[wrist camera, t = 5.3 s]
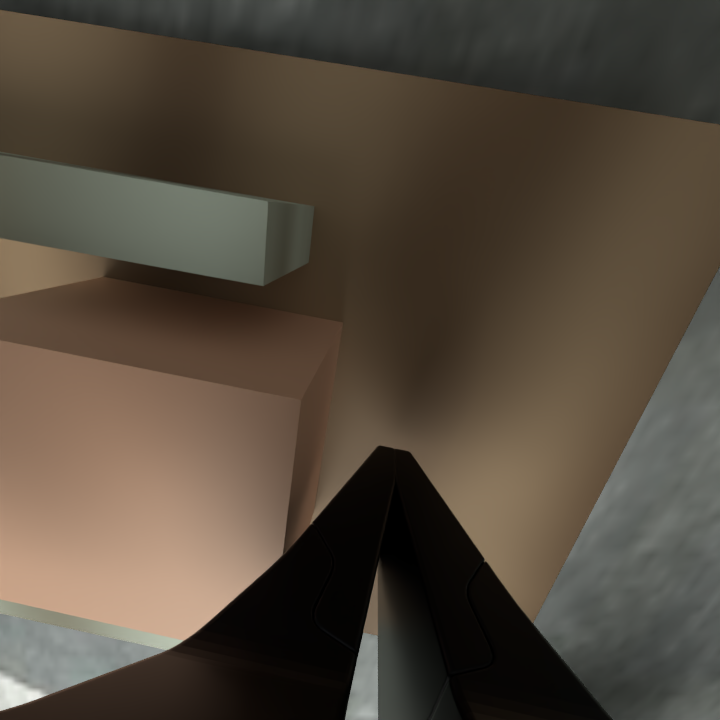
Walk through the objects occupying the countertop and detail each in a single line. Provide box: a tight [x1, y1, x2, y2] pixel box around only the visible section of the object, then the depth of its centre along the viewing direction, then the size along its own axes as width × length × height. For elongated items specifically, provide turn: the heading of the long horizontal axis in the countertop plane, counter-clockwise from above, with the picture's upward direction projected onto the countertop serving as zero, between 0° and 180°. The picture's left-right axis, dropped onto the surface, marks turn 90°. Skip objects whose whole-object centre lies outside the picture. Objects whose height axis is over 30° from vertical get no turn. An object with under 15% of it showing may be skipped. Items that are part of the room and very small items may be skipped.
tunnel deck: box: [0, 10, 720, 650], centre depth 10 cm, size 29×16×6 cm, turn 81°
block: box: [0, 277, 343, 641], centre depth 8 cm, size 6×6×4 cm
